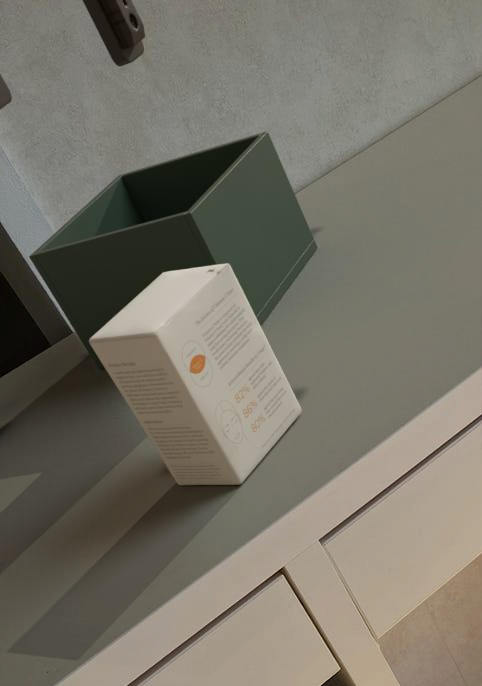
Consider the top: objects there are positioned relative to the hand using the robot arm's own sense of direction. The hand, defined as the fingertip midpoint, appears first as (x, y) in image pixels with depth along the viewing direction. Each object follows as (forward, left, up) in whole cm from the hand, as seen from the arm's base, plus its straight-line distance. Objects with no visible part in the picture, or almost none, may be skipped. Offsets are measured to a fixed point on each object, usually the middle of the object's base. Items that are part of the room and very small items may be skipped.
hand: (63, 84), depth 53 cm
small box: (-1, 0, -22) cm, 22 cm away
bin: (-15, +24, -22) cm, 36 cm away
